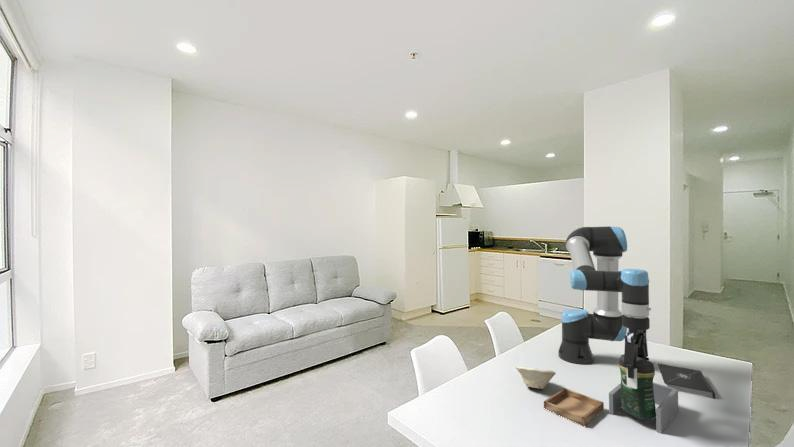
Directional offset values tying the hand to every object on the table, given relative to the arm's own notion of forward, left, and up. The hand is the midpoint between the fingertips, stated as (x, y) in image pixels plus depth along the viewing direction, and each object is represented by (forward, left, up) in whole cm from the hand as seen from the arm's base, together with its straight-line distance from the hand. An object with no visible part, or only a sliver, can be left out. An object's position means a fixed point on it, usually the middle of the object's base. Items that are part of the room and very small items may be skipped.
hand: (636, 382), depth 111 cm
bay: (0, +7, -12) cm, 14 cm away
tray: (-16, -10, -12) cm, 23 cm away
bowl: (-33, -5, -12) cm, 36 cm away
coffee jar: (0, 0, -10) cm, 10 cm away
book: (+3, +45, -13) cm, 47 cm away
